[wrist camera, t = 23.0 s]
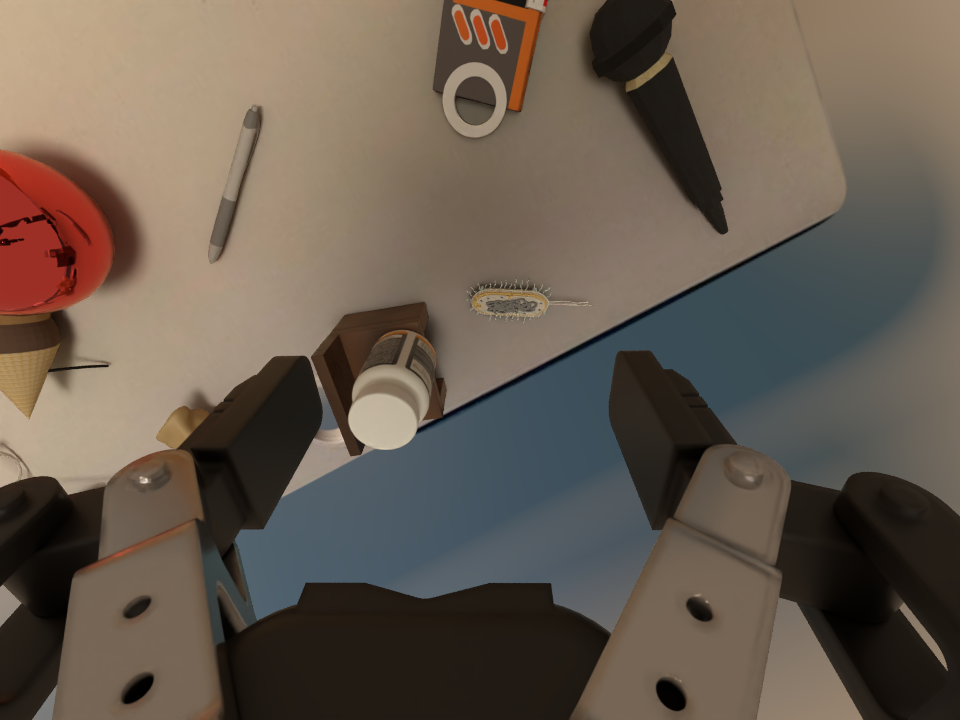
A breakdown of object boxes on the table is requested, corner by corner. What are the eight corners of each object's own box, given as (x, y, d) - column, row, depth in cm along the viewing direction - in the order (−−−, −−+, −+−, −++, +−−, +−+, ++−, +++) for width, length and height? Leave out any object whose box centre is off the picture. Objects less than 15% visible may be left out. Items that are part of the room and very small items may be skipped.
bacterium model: (600, 282, 36) (590, 329, 39) (596, 272, 38) (586, 318, 41) (465, 279, 36) (466, 326, 40) (466, 270, 38) (466, 316, 41)
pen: (267, 110, 33) (259, 108, 31) (222, 264, 38) (213, 268, 37) (254, 102, 32) (245, 101, 31) (211, 258, 38) (201, 262, 37)
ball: (72, 117, 33) (-127, 103, 22) (179, 258, 38) (59, 301, 27) (-33, 183, 35) (-261, 199, 24) (81, 307, 40) (-66, 366, 29)
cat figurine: (141, 427, 39) (245, 451, 36) (197, 374, 44) (293, 392, 41) (190, 474, 45) (284, 498, 42) (235, 422, 50) (321, 441, 47)
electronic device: (427, 127, 31) (465, -171, 24) (431, 126, 33) (466, -142, 26) (515, 148, 32) (579, -135, 24) (513, 146, 34) (570, -111, 27)
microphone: (719, 208, 39) (614, -15, 29) (778, 209, 33) (673, -60, 24) (677, 251, 39) (559, 41, 30) (729, 258, 34) (606, 8, 24)
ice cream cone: (25, 432, 39) (-86, 282, 30) (0, 404, 41) (-108, 259, 33) (108, 396, 43) (33, 259, 35) (81, 374, 46) (5, 240, 38)
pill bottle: (371, 379, 38) (337, 450, 29) (375, 321, 35) (340, 380, 26) (433, 389, 38) (419, 462, 29) (442, 333, 36) (429, 394, 27)
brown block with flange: (425, 301, 40) (410, 341, 32) (446, 390, 44) (438, 444, 36) (344, 315, 40) (310, 356, 32) (373, 401, 45) (350, 456, 37)
